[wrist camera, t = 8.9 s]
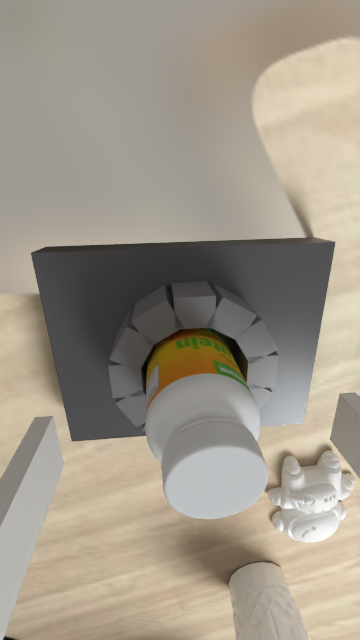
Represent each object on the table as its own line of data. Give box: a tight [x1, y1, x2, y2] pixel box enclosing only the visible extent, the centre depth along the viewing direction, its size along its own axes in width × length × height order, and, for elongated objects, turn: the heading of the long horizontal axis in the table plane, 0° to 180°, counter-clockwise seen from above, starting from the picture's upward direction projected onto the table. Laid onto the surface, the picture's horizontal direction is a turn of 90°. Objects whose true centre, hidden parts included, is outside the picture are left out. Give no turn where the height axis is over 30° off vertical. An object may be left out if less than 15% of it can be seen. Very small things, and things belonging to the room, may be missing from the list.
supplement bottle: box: [145, 328, 268, 519], centre depth 15 cm, size 5×5×10 cm
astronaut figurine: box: [268, 450, 355, 542], centre depth 29 cm, size 9×12×3 cm
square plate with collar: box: [31, 238, 335, 441], centre depth 19 cm, size 18×14×6 cm
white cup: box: [229, 562, 311, 640], centre depth 30 cm, size 8×8×10 cm
